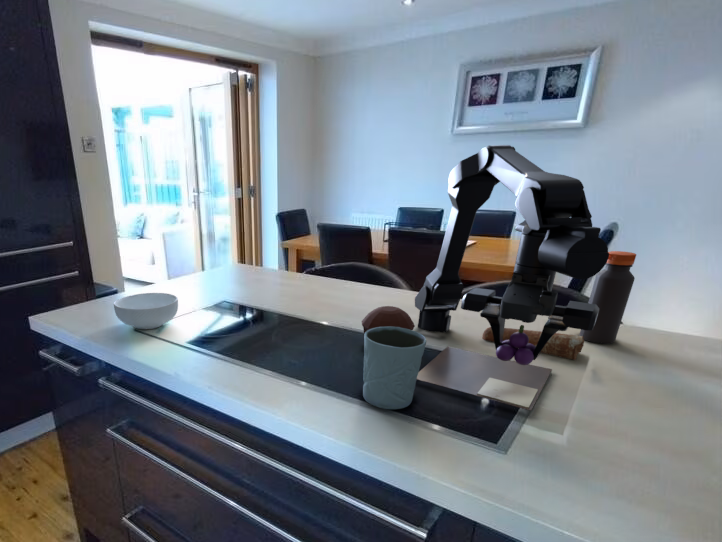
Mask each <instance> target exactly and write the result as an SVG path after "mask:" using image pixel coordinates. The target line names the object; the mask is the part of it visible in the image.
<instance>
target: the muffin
mask: <svg viewBox="0 0 722 542" xmlns="http://www.w3.org/2000/svg"><path fill="white" fill-rule="evenodd" d="M361 326H362V328H363V335H364V334H365V332H366V331H367V330H369V329H372V328H376V327H400V328H405V329H409V330H413V331H414V328H415V327H416V325H415V323H414V321H413V320H412V318H411V316H410V315H409V313H407V312H406V310H405V311H404V310H403V309H402V308H400V307H397V306H393V305H392V306H391V305H384V306H379V307H376V308H374V309H373V310H371V311H370V312H368V313H367V315H365V316H364V317H363V319H362V320H361Z"/></svg>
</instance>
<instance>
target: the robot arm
mask: <svg viewBox="0 0 722 542" xmlns="http://www.w3.org/2000/svg"><path fill="white" fill-rule="evenodd" d="M447 180H448V181H447V182H448V188H447V195H448V197H449V199H450V202H451V210H450V214H449V217H448V220H447V221H448V222H447V226H446V229H445V233H444V237H443V241H442V244H441V249H440V252H439V255H438V260H437V263H436V267H435V268H434V269H433V270H432V271H431V272H430V273H429V274H428V275H426V277H425V280H424V283H423V286H422V287H421V288H420V290H419V291H418V293H417V294H416V296H415V297H414V307H415V308H416V309H418V310H419V315H418V321H417V328H418V329H421V330H422V331H425V332H429V333H447V332H448V331H449V330H450V328H451V323H452V321H451V320H452V315H451V314H450V312H451V311H457V309H458V307H459V304H460V301H461V305H460V309H461V310H464V311H468V312H469V311H470V312H474V313H475V312H476V313H479V316H480V318H485V320H486V321H487V322H488V323H489V325H490V326H489V327H491V329H492V333H493V338H494V342H493V343H494V347H495V348H494V349H495V351H496V350H497V348H498V347H499V346H501V345H502V342H503V334H504V328H505V327H506V325H505V324H506V320H515V321H521V322H522V323H526V324H531V323H534V322H535V321H536V319H537V318H538V316H542V317H543V316H545V317H547V321H545V324H544V325H543V328H542V330H541V331H542V333H541V336H540V338H539V341H538V343H537V345H536V348H535V350H534V353H533V355H534V359H533V361H536V359H537V358H538V356H539V355H540V354H541V350H542V349H543V347H544V346H545V344H546V343H547V342H548V340H549V339H550V338H551V337H552V336H553V335H554V334H555V333H558V332H566V331H567V330H568V329H569V328H571V329H576V330H580V331H581V330H587V331H588V330H593V327H594V325H595V322H596V319H597V316H598V312H599V307H598V306H597V305H596V304H590V303H588V302H583V301H574V300H569V302H568V304H567V305H564V306H563V305H558V304H557V300H558V293H559V292H558V291H553V286H554V282H555V278H556V274H557V273H558V274H561V275H563V276H567V277H570V278H573V279H576V280H587V279H590V278H592V277H595V276H596V275H597V274H598V273H599V272H600V271H602V270H604V268H605V267H606V265H605V264H606V262H607V260H608V257H609V253H608V252H609V247H608V245H607V242H606V241H605V240H604V239H603V238H601V237H600V234H601V227H597V226H593V221H592V217H593V216H592V213H591V212H590V211H591V210H590V209H589V205H588V201H587V197H586V192H585V190H584V188H585V187H584V184H583V182H582V181H581V180H580V179H578V178H575V177H573V176H569V175H566V174H560V173H553V172H548V171H545V170H544V169H542V168H541V167H539V166H538V165H536V164H535V163H534V162H532V161H531V160H529V159H528V158H526V157H525V156H524V155H522V154H521V153H519V152H518V151H516V148H515V147H514V146H513V145H511V144H491V145H490V144H488V145H487V146H484V147H482V148H481V149H480V150H479V151H478V152H476V153H475V154H472V155H470V156H468V157H467V158H464V159H462V160H460V161H459V162H458V163H457V164H456V165H455V166H453V168H452V169H451V170H450V172H449V175H448V179H447ZM500 183H501V184H502V185H503V186H504V187H506V189H508V190H509V191H510V192H511V193H512V194H514V196H515V197H516V198H515V201H514V206H515V208H516V209H517V210H518V212H519V214H520V215H521V216H522V218H523V219H524V220H523V221H522V222H520V223H518V224H517V225H516V226H515V228H514V230H515V232H520V233H521V234H520V238H519V244H518V249H517V253H516V257H515V262H514V268H513V273H512V275H511V280H510V282H509V283H508V285H507V287H506V288H505V292H504V294H503V296H498V295H497V296H496V294H497V293H496V289H487V288H481V287H480V288H479V287H473V288H472V289H470V290H469V291H467V292H466V293H465V294H464V295H463V291H464V289H465V286H464V283H463V282H462V279H461V277H460V275H459V273H460V269H461V266H462V262H463V259H464V256H465V252H466V249H467V245H468V242H469V239H470V235H471V232H472V229H473V226H474V222H475V218H476V215H477V212H478V210H479V209H480V208H481V207H483V205H484V204H485V203H487V201H488V200H489V199H490V198H491V196H492V193H493V191H494V188H495V186H496V185H498V184H500ZM462 296H463V297H462Z"/></svg>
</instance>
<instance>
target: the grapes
mask: <svg viewBox="0 0 722 542" xmlns="http://www.w3.org/2000/svg"><path fill="white" fill-rule="evenodd" d="M518 329H519V332H515V333H513V334H512V335H511V336H510V340H505V341H503V342H502V345H501V346H499V347H498V348H497V350H496V349H495V355H496V356H495V357H498V358H499V359H500V360H502V361H509V360H511V361H512V359H514V361H516V362H517V363H518V364H520V365H528V364H530V365H531V363H532V362H533V361H534V360H533V359H534V355H533V353H534V350H535V348H536V347H535V346H534V345H533V344H530V343H528V342H529V338H528V336H527V335H526V334H525V333H523V330H525V325H523V324H521V325H520V326H519V328H518Z"/></svg>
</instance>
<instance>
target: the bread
mask: <svg viewBox="0 0 722 542" xmlns="http://www.w3.org/2000/svg"><path fill="white" fill-rule="evenodd" d="M519 329H520V328H510V327H504V334H503V341H505V340H510V336H511V335H512V334H513V333H515V332H519ZM523 333H525V334H526V335H527V336H528V338H529V342H528V343H530V344H533V345H534V346H535V347H536V345H537V343H538V341H539V338H540V336H541V333H542V330H533V329H532V330H531V329H524V330H523ZM482 339H483V340H484V341H487V342H490V343H491V342H492V343H494V338H493V333H492V329H491V326H488V327H487V328H485V330H484V331H483V333H482ZM584 344H585V340H584V337H583V336H580V335H576V334H567V333H559V332H556V333H555V334H554V335H553V336H552V337H551V338H550V339H549V340H548V342H547V343H546V344H545V346H544V347H543V349H542V350H541V352H540V354H541V353H542V354H546V355H550V356H555V357H558V358H562V359H567V360H573V361H576V360H577V358H578V354H579V353H581V352H582V350H583V347H584V346H585V345H584Z"/></svg>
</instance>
